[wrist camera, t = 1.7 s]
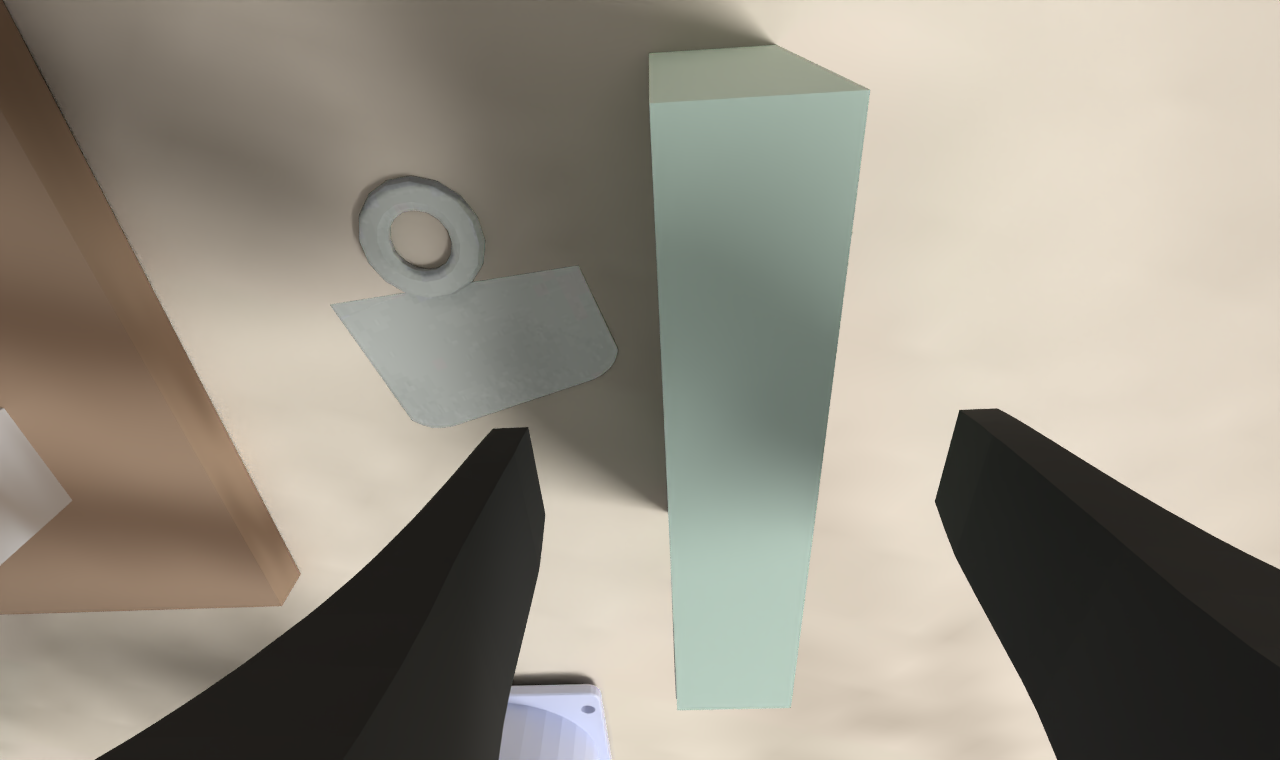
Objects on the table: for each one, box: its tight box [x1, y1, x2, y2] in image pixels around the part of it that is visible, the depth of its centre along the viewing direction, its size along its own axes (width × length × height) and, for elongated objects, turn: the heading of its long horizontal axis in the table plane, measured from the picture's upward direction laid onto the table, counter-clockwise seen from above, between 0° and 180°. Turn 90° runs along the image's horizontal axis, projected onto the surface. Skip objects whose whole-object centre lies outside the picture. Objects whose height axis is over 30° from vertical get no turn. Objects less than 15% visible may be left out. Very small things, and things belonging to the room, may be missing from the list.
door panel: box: [649, 45, 870, 710], centre depth 13 cm, size 12×2×6 cm, turn 3°
